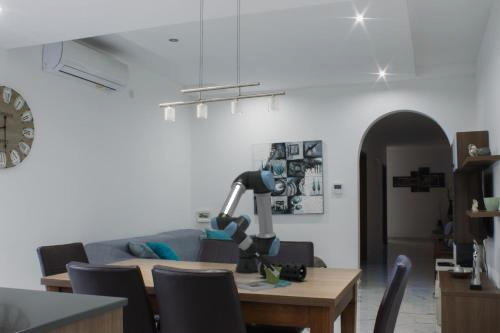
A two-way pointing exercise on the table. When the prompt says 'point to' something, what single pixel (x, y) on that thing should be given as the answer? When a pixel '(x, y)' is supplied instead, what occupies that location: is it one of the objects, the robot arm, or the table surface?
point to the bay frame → (262, 285)
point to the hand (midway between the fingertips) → (275, 273)
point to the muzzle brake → (286, 270)
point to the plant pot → (272, 276)
